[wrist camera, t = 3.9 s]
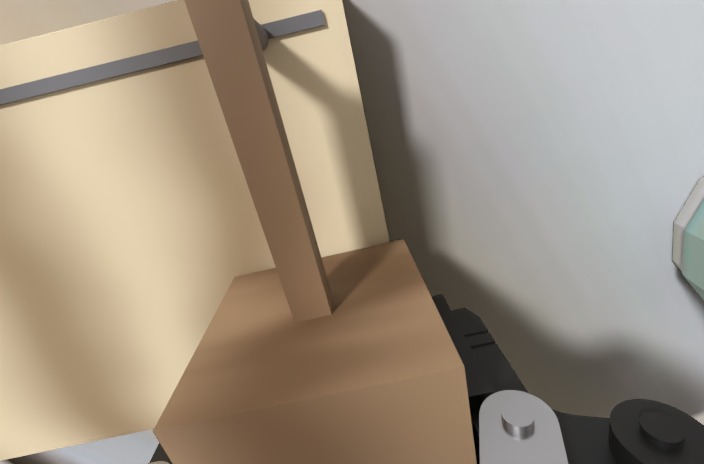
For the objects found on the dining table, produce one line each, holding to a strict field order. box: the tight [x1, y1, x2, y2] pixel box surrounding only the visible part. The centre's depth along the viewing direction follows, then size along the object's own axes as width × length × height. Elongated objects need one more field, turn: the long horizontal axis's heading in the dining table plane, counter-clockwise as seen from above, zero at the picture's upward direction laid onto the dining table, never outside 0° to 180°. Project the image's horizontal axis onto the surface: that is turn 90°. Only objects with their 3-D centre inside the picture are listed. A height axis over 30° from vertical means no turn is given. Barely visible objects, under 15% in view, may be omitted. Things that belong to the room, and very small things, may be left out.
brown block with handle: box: [153, 0, 477, 464], centre depth 9 cm, size 5×13×7 cm, turn 13°
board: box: [0, 0, 390, 461], centre depth 11 cm, size 20×12×2 cm, turn 103°
